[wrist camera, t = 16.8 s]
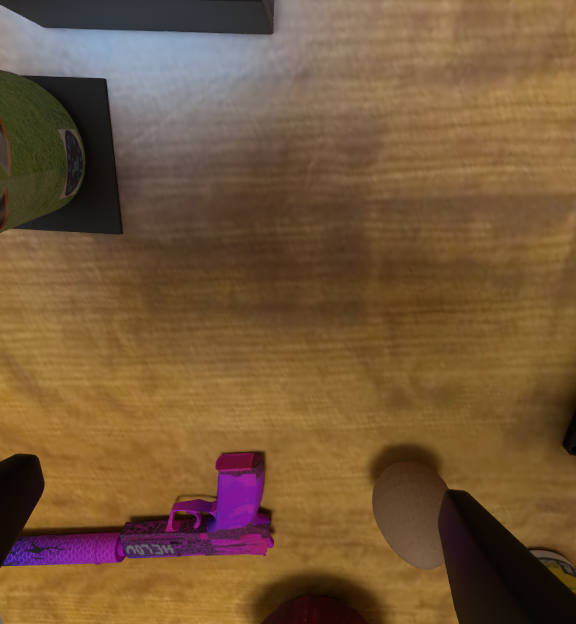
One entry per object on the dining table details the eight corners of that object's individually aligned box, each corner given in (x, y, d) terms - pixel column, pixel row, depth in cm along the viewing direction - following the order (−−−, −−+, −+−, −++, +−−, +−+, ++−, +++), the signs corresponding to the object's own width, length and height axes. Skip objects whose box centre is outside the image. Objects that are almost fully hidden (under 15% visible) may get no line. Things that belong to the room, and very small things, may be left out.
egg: (442, 494, 24) (480, 590, 19) (373, 502, 25) (389, 598, 20) (435, 437, 23) (474, 524, 17) (361, 448, 24) (375, 535, 18)
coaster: (106, 79, 17) (103, 78, 17) (123, 234, 20) (121, 234, 20) (-41, 74, 18) (-45, 72, 18) (-7, 226, 20) (-10, 227, 20)
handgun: (263, 449, 24) (259, 471, 22) (281, 537, 27) (279, 564, 25) (-27, 470, 27) (-53, 492, 25) (15, 550, 29) (-5, 576, 27)
